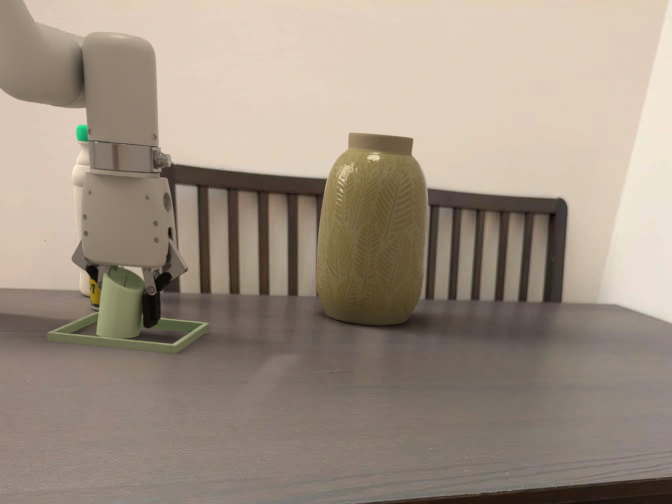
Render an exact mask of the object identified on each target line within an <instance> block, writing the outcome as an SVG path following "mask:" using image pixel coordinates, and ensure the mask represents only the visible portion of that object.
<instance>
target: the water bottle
mask: <svg viewBox="0 0 672 504" xmlns="http://www.w3.org/2000/svg"><path fill="white" fill-rule="evenodd" d="M75 136H76V140H77V141H78V142H77V144H78V145H79V147H80V152H79V154H78V155H77V158H76V160H75V163H76V164H75V165H74V166H73V169H72V172H71V182H72V185H73V212H74V213H73V214H74V226H75V235H76V241H77V246H78V245H79V243H80V241H81V239H82V236H81V205H82V192H83V183H84V177H85V172H90V160H89V145H88V141H89V140H88V130H87V124H78V125H77V126H76V129H75ZM91 141H95V140H91ZM104 142H106V141H104ZM121 267H122V268H125V266H121ZM78 268H79V290H80V293H81V294H82V295H83V296H86V297H89V298H90V285H89V275H88V273H87V272H86V271H85V270H83V269H82V268H80V267H79V266H78Z"/></svg>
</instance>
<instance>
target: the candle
mask: <svg viewBox="0 0 672 504" xmlns="http://www.w3.org/2000/svg"><path fill="white" fill-rule="evenodd" d="M144 294H146V287H145V282H144V278H142V277H141V276H140V275H139V274H137V273H136V272H135V271H132V270H130V269H128V268H125V267H124V268H122V267H118V269H117V271H115V269H114V268H113V269H111V271H110V277H109V276H108V275H107V274H106V273H104V275H103V281H102V290H101V297H100V305H99V311H98V312H99V314H98V322H97V323H96V331H95V334H96V336H98V337H108V338H118V339H133V338H136V337H139V336H140V332H141V328H142V327H141V320H142V316H143V308H142V296H143V295H144Z"/></svg>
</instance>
